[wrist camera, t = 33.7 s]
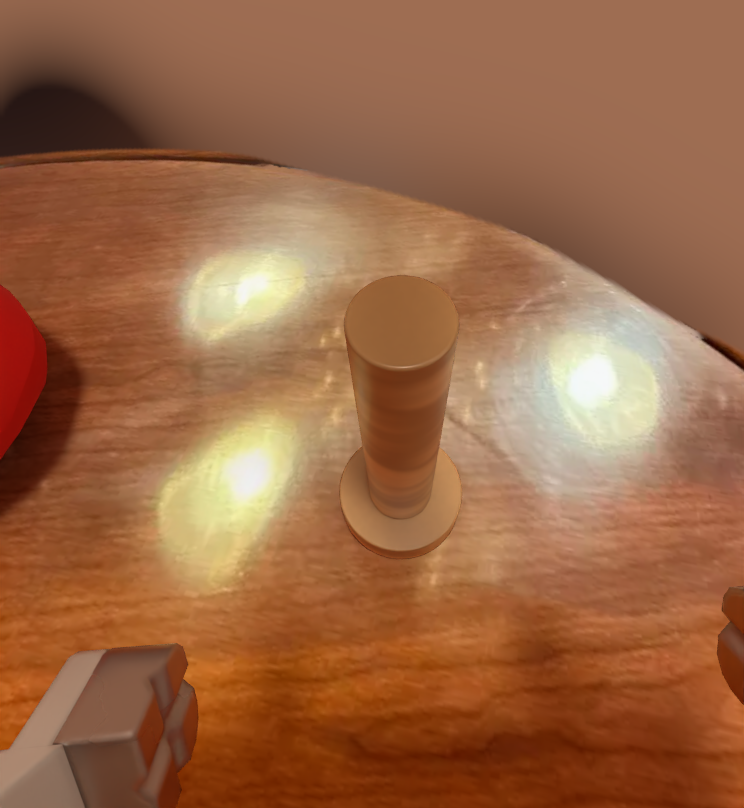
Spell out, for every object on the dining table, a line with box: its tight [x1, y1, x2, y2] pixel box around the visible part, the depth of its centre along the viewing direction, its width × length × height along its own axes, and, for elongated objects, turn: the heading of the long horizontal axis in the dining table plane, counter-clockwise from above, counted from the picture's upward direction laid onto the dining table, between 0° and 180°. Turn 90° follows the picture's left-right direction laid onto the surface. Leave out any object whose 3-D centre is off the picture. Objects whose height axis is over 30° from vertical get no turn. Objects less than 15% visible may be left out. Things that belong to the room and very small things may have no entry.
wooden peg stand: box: [339, 275, 462, 559], centre depth 19 cm, size 5×5×14 cm
